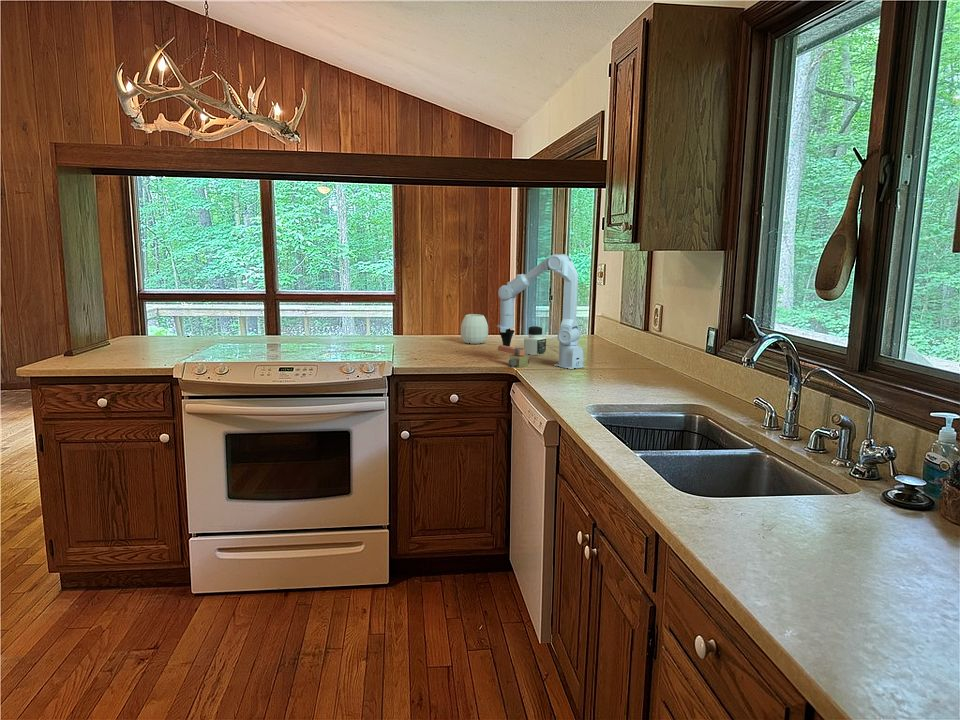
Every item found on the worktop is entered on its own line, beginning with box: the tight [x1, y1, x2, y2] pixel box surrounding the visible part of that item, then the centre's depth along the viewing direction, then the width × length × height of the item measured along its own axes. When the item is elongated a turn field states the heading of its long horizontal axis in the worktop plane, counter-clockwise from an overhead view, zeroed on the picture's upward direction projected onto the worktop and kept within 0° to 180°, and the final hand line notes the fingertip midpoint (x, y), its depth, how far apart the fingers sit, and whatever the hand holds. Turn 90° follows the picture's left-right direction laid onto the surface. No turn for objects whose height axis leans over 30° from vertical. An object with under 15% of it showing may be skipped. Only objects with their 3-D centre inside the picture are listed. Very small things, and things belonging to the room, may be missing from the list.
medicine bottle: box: [523, 325, 547, 356], centre depth 296 cm, size 7×7×12 cm
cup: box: [460, 313, 489, 345], centre depth 324 cm, size 13×13×14 cm
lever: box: [497, 344, 526, 356], centre depth 271 cm, size 14×3×2 cm, turn 35°
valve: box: [507, 354, 530, 369], centre depth 268 cm, size 6×8×4 cm
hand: (506, 347), depth 280 cm, fingers closed
